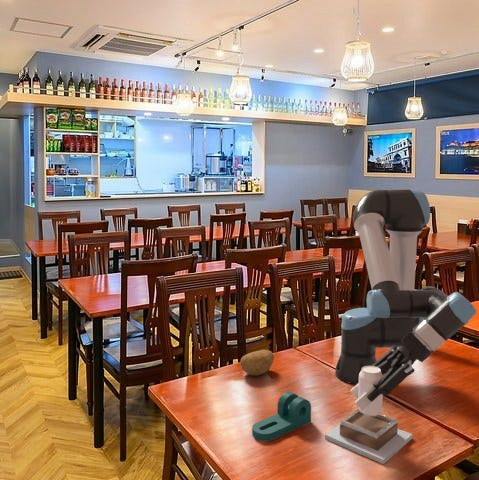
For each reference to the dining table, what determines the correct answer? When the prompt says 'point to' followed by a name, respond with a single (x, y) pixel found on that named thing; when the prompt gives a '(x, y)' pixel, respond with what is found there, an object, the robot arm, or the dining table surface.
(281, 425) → the bracket
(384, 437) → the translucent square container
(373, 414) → the beverage can
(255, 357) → the potato
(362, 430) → the metal collar
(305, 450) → the dining table surface
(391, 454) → the light gray board
